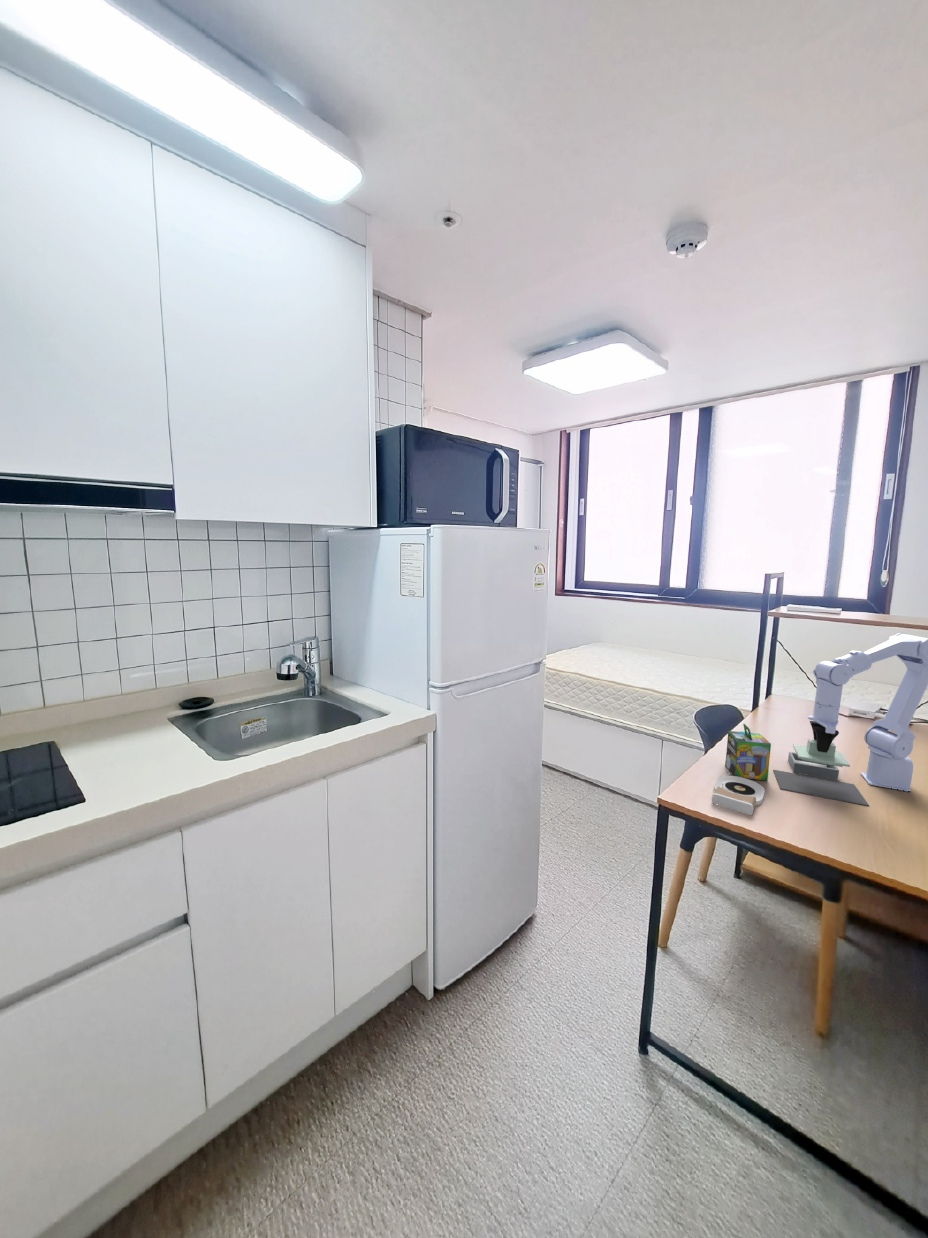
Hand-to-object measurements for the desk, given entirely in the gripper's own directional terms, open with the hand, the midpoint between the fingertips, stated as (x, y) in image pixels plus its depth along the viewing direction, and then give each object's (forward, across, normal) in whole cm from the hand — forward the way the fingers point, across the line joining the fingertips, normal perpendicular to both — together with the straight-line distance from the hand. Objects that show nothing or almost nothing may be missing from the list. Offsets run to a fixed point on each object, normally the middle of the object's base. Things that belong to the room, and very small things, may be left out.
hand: (820, 749), depth 138 cm
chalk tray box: (+11, -10, +1) cm, 15 cm away
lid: (+3, 0, 0) cm, 3 cm away
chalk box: (+11, +2, -18) cm, 21 cm away
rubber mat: (+10, +2, 0) cm, 11 cm away
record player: (+11, +18, -21) cm, 30 cm away
